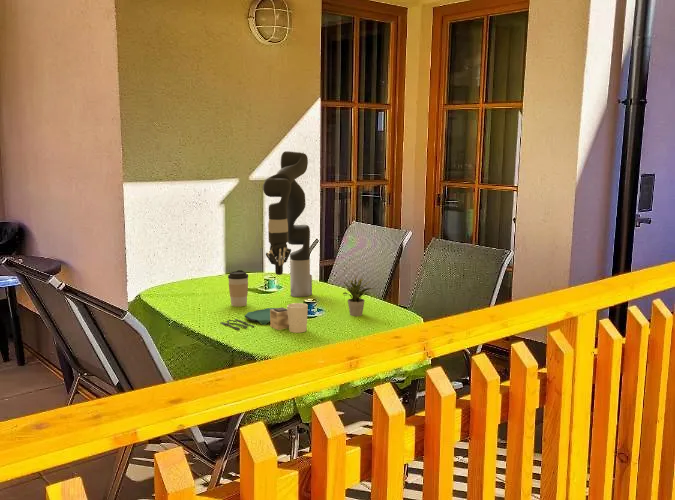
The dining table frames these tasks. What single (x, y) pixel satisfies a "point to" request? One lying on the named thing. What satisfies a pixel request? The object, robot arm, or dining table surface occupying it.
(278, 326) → the button box
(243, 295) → the coffee cup
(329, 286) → the dining table surface
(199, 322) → the dining table surface
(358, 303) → the house plant
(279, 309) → the button cap
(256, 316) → the cutlery set
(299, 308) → the tan cylinder
